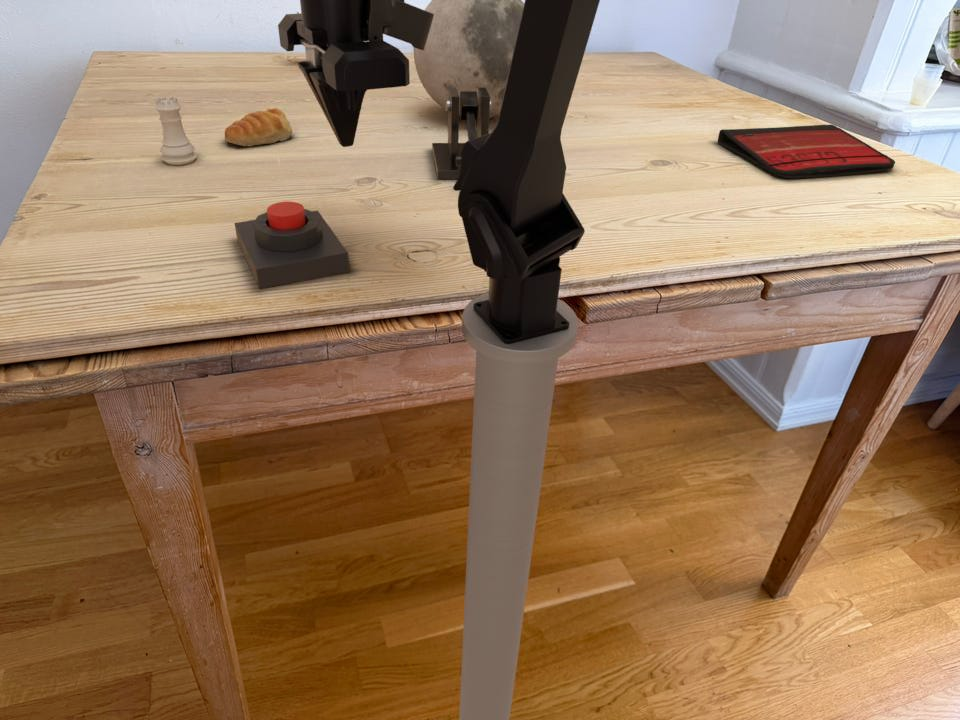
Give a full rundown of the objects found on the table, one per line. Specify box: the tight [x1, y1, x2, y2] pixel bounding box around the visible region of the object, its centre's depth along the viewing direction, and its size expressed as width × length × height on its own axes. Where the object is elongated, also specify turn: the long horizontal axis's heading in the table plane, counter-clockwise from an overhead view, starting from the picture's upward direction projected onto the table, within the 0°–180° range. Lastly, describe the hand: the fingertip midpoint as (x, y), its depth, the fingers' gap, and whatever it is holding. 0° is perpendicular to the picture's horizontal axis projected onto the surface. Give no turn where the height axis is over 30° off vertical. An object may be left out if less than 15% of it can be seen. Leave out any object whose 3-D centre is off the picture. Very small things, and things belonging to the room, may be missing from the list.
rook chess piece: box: [154, 95, 197, 166], centre depth 89 cm, size 4×4×8 cm
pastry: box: [224, 107, 293, 148], centre depth 98 cm, size 9×7×4 cm
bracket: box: [431, 87, 492, 180], centre depth 92 cm, size 11×9×10 cm
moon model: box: [413, 0, 524, 118], centre depth 107 cm, size 20×20×20 cm
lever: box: [456, 91, 479, 166], centre depth 88 cm, size 12×5×2 cm, turn 7°
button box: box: [233, 208, 351, 290], centre depth 70 cm, size 11×9×4 cm
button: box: [266, 201, 306, 230], centre depth 68 cm, size 4×4×2 cm
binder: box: [717, 124, 896, 179], centre depth 103 cm, size 16×2×21 cm
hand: (346, 145), depth 65 cm, fingers closed
